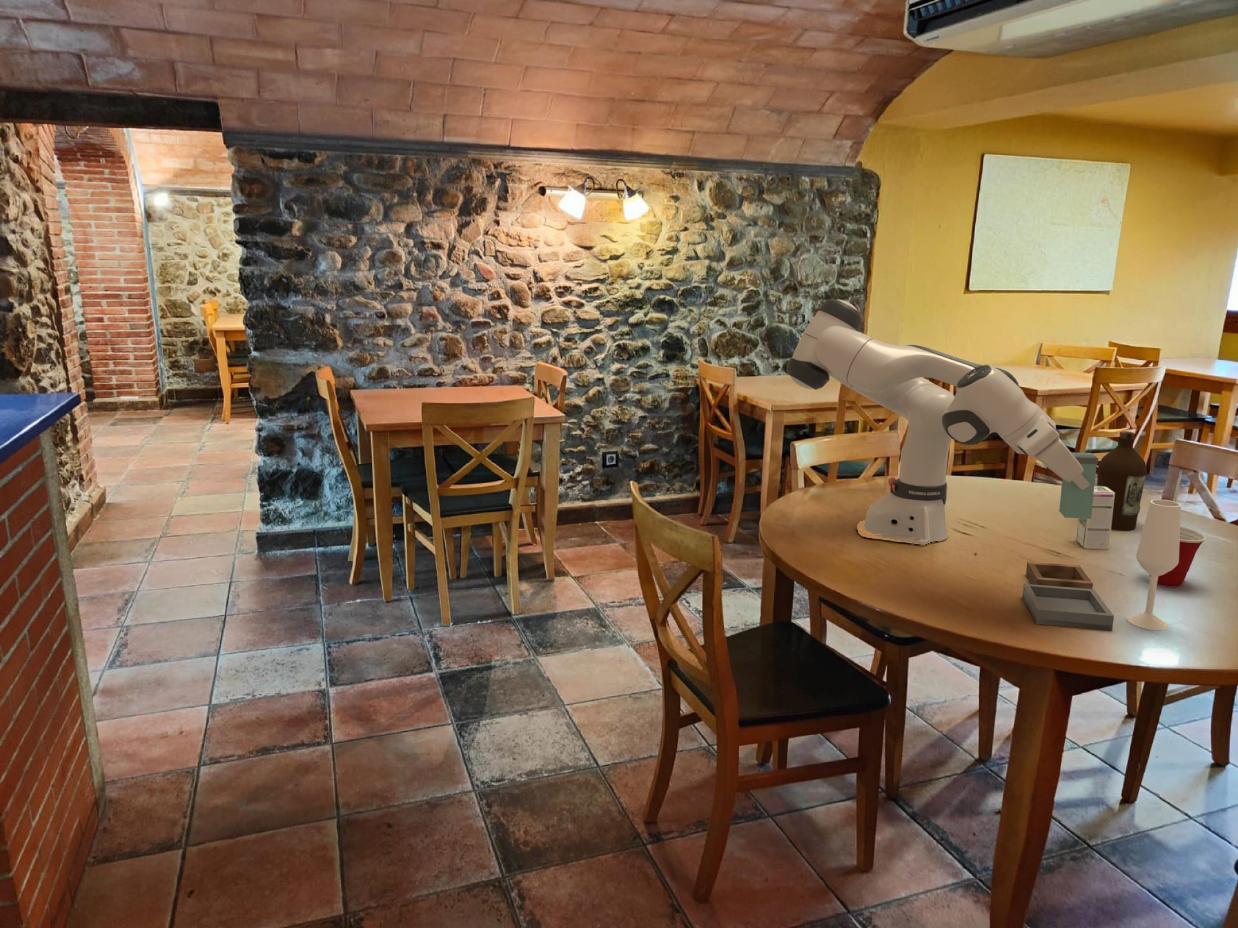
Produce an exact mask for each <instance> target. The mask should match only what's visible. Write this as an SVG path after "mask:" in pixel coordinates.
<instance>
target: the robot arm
mask: <svg viewBox="0 0 1238 928" xmlns="http://www.w3.org/2000/svg"><path fill="white" fill-rule="evenodd" d="M862 320H863V319H862V315H861V313H860V312H859V310H858V309H857V308H856V307H855V305H853V304H852V303H850V302H848V301H846V300H844V299H838V298H837V299H835V298H829V299H826V300H825V301H824V302H823V303H822V304H821V305H820V306H819V307H818V309H817V312H816V314H815V315H813V318H812V319H811V320H810V322H809V323H808V325H807V326H806V328H805V329H804V331H803V333H802V334H803V335H802V336H801V338H800V340H799V342H798V343H797V346H796V347H795V349H794V352H793V354H792V356H791V357H790V358H789V361H788V363H787V366H786V372H787V375H788V376H789V377H790V378H791V380H792V381H793V382H794V383H795V384H796V385H798V386H799V387H802V388H803V389H808V390H809V389H810V390H819V389H820V390H821V389H822V388H824V386H825V385H827V383H828V382H829V381H830V378H831V377H832V378H833V379H834V380H835V381H837V382H839V383H841V384H842V385H844V386H845V387H847V388H849V389H851V390H852V391H854V392H856V394H859V395H861V396H863V397H864V398H866V399H868V400H870V401H872V402H873V403H875V404H877V405H880V406H881V407H883V408H884V409H887V410H889V411H891V412H892V413H895V414H897V415H898V416H900V417H901V418H903V419H905V420H907V422H908V426H907V432H906V436H905V440H904V443H903V446H902V448H901V450H900V463H899V465H900V466H899V478H897V479H896V478H895V477H894V476H893V477H891V476H890V477H889V478H888V479H887V481H888V482H887V483H888V485H889V486H890V489H889V490H890V492H889V493H888V494H886V495H884V496H883V497H881V498H879V499H878V500H876V501H873V502H872V503H871V504H870V506H869V507H868V509H867V512H866V516H865V518H864V519H865V524H864V527H865V530H866V531H868V532H871V533H872V534H881V535H875V536H879V537H880V536H881V537H883V538H890V539H894V540H901V541H908V542H912V543H919V544H927V543H929V544H931V543H930V542H932V541H938V542H943V541H945V540H946V539H948V538H949V534H948V529H947V523H946V514H945V513H946V511H945V506H946V505H947V504H946V502H947V499H948V483H947V469H948V459H949V457H948V456H949V453H950V452H949V451H950V446H951V443H952V440H953V441H955V442H956V443H958V444H961V445H965V446H976V445H978V444H980V443H981V442H982V441H984V440H986V438H988V437H989V436H990V434H992V433H997V434H998V436H999V437H1000V438H1001V439H1002V440H1003V441H1004V442H1005V443H1006V444H1007V445H1008V446H1009V447H1011V449H1012V450H1013V451H1014V452H1015V453H1016V454H1018V455H1021V454H1022V455H1025V456H1028V457H1030V458H1035V459H1036V460H1037V461H1039V462H1040V463H1041V464H1042V465H1043V466H1045V467H1047V468H1048V469H1049V470H1050V471H1052V472H1053V473H1054V474H1055V475H1057V476H1058V477H1059V478H1060V479H1064V480H1065V481H1067V482H1071V481H1073V482H1074V483H1075V484H1076V485H1077V486H1078V487H1079V488H1080V489H1082V490H1083V489H1085V488H1087V487H1088V486H1089V485H1090V484H1089V482H1088V481H1087V480H1086V479H1085V478H1084V477H1083V476H1082V474H1081V473H1082V472H1083V471H1084V469H1083V467H1082V466H1081V464H1080V463H1079V462H1078V461H1077V459H1076V458H1075V457H1074V456H1073V454H1072V453H1073V452H1072V453H1071V451H1070V449H1069V448H1068V447H1067V446H1066V445H1065V444H1064V442H1063V441H1062V439H1061V438H1060V433H1059V432H1058V430H1057V427H1056V426H1057V425H1056V424H1057V423H1056V422H1055V421H1054V420H1053V419H1052V418H1051V417H1050V416H1049V415H1048V414H1047V413H1046V412H1045V411H1044V410H1043V409H1042V408H1041V407H1040V406H1039V405H1038V404H1037V403H1034V402H1033V401H1031V400H1030V399H1029V398H1028V397H1027V396H1026V394H1025V393H1024V391H1023V389H1022V388H1021V387H1020V385H1019V382H1018V380H1017V379H1016V377H1014V375H1013V374H1012V373H1010V372H1009V371H1008V370H1005V369H1002V368H1000V367H994V366H993V365H990V364H983V365H982V364H978V363H975V362H973V361H969V360H965V359H962V358H959V357H957V356H953V355H950V354H947V353H945V352H941V351H938V350H936V349H932V348H929V347H925V346H921V345H917V344H908V345H899V344H892V343H887V342H885V341H880V340H878V339H876V338H874V337H872V336H871V335H868V334H864V333H863V332H860V328H861V325H862ZM926 378H929V379H934V380H937V381H939V382H943V383H946V384H949V385H950V386H953V387H956V388H955V389H956V390H955V391H956V393H955V395H954V394H953V392H951V391H949V390H948V389H945V388H943V387H941V386H940V385H937V384H935V383H933V382H931V381H930V380H928V379H926ZM932 543H933V542H932ZM927 545H928V544H927Z"/></svg>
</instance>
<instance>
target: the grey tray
mask: <svg viewBox="0 0 1238 928" xmlns="http://www.w3.org/2000/svg"><path fill="white" fill-rule="evenodd" d="M1021 598H1022V600H1023V601H1024V603H1025V605H1026V607H1027V608H1028V609H1027V610H1028V611H1029V613H1030V615H1031V617H1032V619H1033V621H1034V622H1035V625H1047V626H1055V627H1056V626H1057V627H1068V628H1069V627H1070V628H1078V629H1079V628H1081V629H1091V630H1101V631H1112V632H1113V627H1114V619H1115V615H1114V613H1112V611H1111V610H1110V609H1109V607H1108V606H1107V605H1106V603H1105V602H1104V600H1103V599H1102V597H1100V596H1099V593H1097V592H1096V590H1095V589H1094V588H1093V589H1083V588H1071V587H1058V586H1045V585H1033V584H1031V583H1030V584H1029V583H1023V587H1022V597H1021Z"/></svg>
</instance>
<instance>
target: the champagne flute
mask: <svg viewBox="0 0 1238 928" xmlns="http://www.w3.org/2000/svg"><path fill="white" fill-rule="evenodd" d="M1146 512H1147V513H1146V517H1145V520H1144V525H1143V528H1142V532H1141V534H1140V535H1141V536H1140V540H1139V543H1138V546H1137V550H1136V554H1135V557H1136V560H1137V562H1138V564H1139V566H1141V568H1142V569H1143V570H1144V571H1145V572H1146V573H1147V574H1148V575H1149V577H1150V575H1151V577H1150V578H1149V585H1148V591H1147V597H1146V598H1147V599H1146V603H1145V604H1146V605H1145V611H1144V612H1141V613H1137V614H1132V615H1128V616H1127V617H1126V620H1127V621H1128V622H1129V624H1132V625H1133V626H1135V627H1136V626H1137V627H1139V628H1143V629H1147V630H1152V631H1161V630H1167V629H1168V627H1169V624H1168V623H1167V622H1165V621H1164V620H1162V619H1161V618H1159V617H1158V616H1156V615H1155V614H1154V613H1153V612H1154V607H1155V606H1154V605H1155V598H1156V593H1157V586H1158V584H1157V581H1158V576H1161V575H1163V574H1165V573H1167V572H1169V571H1171V570H1172V569H1174V568H1175V567H1176V566H1177V565H1178V563H1179V543H1180V526H1181V518H1182V517H1181V516H1182V515H1181V513H1182V504H1181V503H1179V502H1178V501H1174V500H1168V499H1151V500H1150V501H1149V505H1148V509H1147V511H1146Z"/></svg>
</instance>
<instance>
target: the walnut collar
mask: <svg viewBox="0 0 1238 928" xmlns="http://www.w3.org/2000/svg"><path fill="white" fill-rule="evenodd" d="M1025 576H1026V577H1027V579H1028V580H1029V582H1030V584H1033V585H1045V586H1058V587H1071V588H1083V589H1094V588H1093V586H1094V582H1093V581H1092V580H1091V579H1090V577H1089V576H1088V575H1087V573H1086V572H1085V571H1084V570H1083V568H1082V566H1080V565H1079V564H1078V565H1075V564H1062V563H1050V562H1049V563H1046V562H1036V561H1035V562H1034V561H1027V562H1026V570H1025Z"/></svg>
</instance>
